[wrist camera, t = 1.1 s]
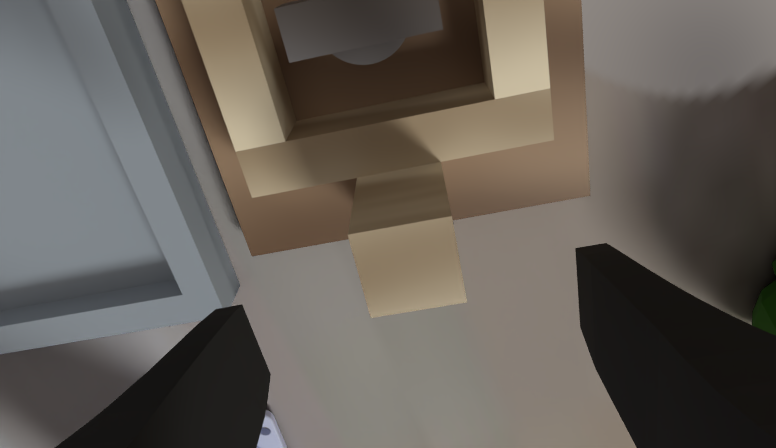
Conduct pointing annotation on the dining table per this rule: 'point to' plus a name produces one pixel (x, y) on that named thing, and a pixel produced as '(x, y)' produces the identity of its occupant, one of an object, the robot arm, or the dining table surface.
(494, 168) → the base
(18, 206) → the slate tray
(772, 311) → the bell pepper
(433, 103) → the tan frame with tab
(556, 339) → the dining table surface
